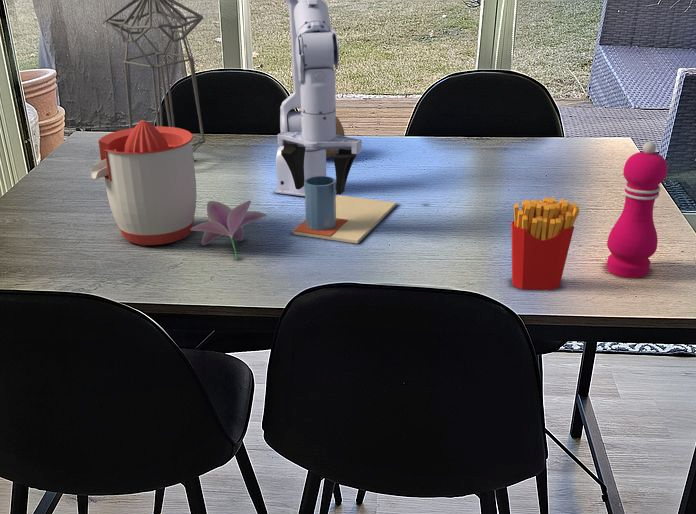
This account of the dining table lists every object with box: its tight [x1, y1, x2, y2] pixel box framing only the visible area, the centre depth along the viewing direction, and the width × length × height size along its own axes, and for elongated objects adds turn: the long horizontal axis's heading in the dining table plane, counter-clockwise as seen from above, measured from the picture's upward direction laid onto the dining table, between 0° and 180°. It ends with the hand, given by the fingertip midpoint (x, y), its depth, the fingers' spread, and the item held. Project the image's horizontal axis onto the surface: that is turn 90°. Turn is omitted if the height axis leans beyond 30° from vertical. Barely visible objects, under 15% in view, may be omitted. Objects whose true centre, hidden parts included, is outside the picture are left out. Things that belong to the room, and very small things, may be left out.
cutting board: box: [292, 194, 397, 245], centre depth 150 cm, size 12×20×1 cm, turn 157°
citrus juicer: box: [91, 119, 198, 247], centre depth 140 cm, size 16×17×20 cm
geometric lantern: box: [102, 0, 206, 160], centre depth 172 cm, size 16×16×35 cm
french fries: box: [510, 196, 581, 291], centre depth 122 cm, size 9×4×13 cm, turn 85°
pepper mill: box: [605, 141, 668, 279], centre depth 124 cm, size 7×7×20 cm
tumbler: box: [304, 175, 337, 230], centre depth 144 cm, size 5×5×8 cm
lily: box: [190, 200, 267, 260], centre depth 136 cm, size 12×12×10 cm
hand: (320, 190), depth 142 cm, fingers open, 7 cm apart
